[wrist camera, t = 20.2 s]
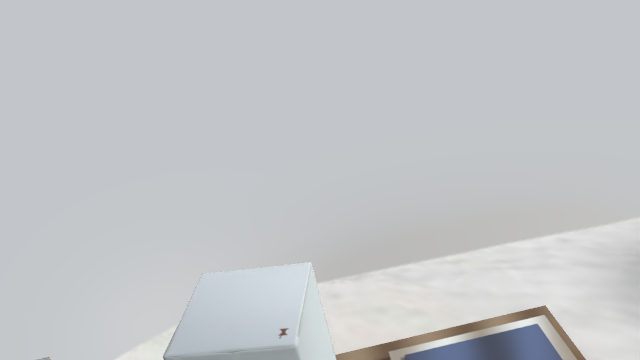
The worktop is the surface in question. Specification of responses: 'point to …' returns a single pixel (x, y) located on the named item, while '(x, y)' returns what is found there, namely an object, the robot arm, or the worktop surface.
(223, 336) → the supplement box
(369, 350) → the stamping board
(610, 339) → the worktop surface
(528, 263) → the worktop surface
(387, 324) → the worktop surface
